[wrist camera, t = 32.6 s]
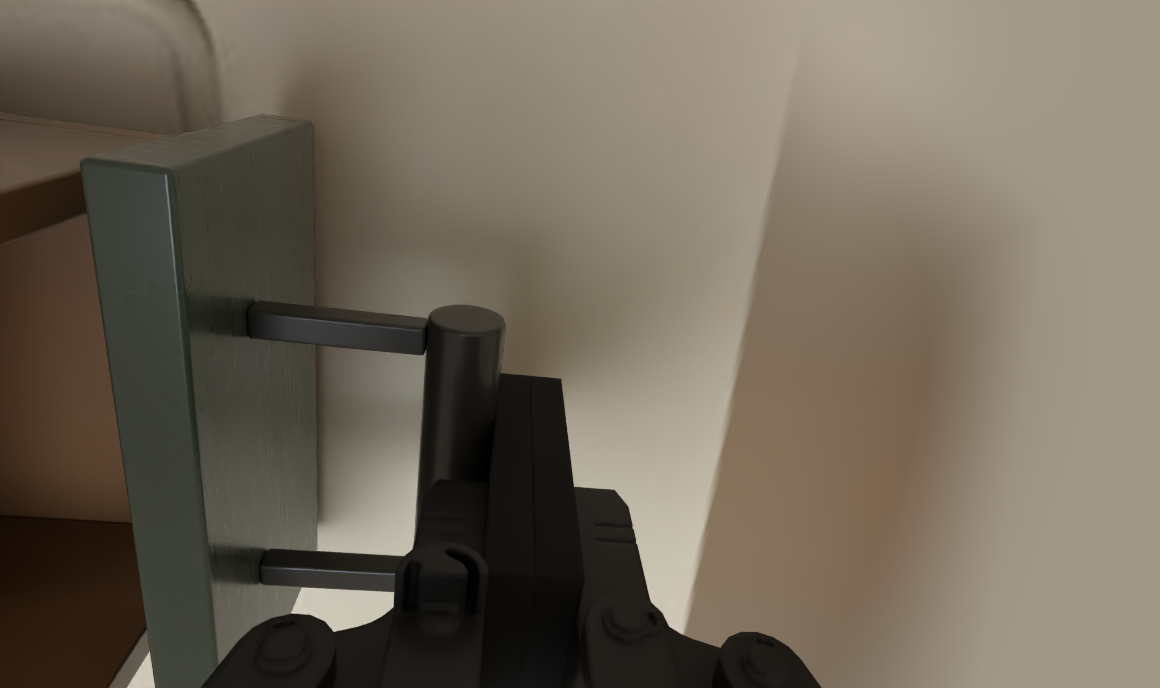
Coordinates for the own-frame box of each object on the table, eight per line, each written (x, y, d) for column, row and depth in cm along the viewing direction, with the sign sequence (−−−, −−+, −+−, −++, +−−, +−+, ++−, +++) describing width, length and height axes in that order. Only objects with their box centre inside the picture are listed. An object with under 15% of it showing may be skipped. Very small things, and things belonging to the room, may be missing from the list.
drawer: (522, 150, 16) (521, 214, 10) (476, 558, 21) (457, 777, 14) (-441, 13, 13) (-1290, -20, 7) (-234, 515, 18) (-631, 759, 12)
